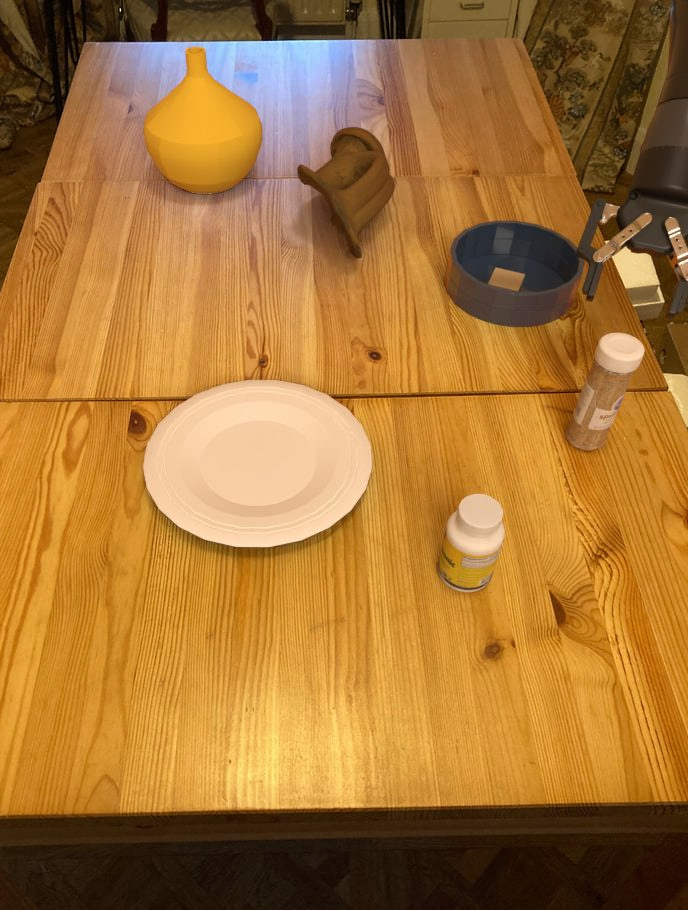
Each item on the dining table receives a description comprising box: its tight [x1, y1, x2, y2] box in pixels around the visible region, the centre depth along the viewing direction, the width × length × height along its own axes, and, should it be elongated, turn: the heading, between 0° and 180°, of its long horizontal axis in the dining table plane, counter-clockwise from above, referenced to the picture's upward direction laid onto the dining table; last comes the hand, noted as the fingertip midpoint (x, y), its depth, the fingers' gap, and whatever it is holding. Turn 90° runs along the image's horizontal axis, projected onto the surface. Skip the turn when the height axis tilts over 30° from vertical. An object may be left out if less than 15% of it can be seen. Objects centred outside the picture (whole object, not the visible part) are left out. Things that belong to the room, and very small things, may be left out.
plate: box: [142, 379, 373, 549], centre depth 84 cm, size 25×25×2 cm
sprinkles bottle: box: [564, 332, 645, 452], centre depth 83 cm, size 5×5×13 cm
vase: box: [142, 46, 263, 195], centre depth 117 cm, size 18×18×19 cm
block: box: [488, 268, 525, 292], centre depth 101 cm, size 4×4×4 cm
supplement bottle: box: [437, 493, 506, 593], centre depth 73 cm, size 5×5×10 cm
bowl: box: [444, 219, 585, 328], centre depth 104 cm, size 17×17×6 cm
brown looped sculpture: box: [296, 126, 396, 259], centre depth 112 cm, size 18×13×22 cm
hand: (629, 308), depth 84 cm, fingers open, 8 cm apart
